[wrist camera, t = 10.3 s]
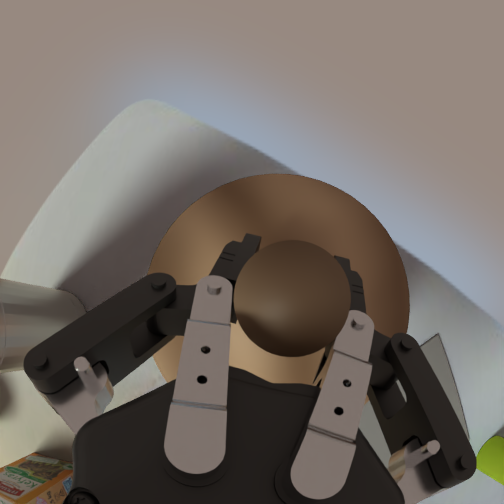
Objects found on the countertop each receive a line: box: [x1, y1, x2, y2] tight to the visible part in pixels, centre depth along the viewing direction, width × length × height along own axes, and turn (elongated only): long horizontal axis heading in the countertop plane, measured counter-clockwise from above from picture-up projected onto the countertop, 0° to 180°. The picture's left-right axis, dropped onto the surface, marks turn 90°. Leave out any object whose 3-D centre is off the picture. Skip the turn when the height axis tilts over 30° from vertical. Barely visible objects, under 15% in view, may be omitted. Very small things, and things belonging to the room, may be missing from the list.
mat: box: [359, 335, 469, 468], centre depth 27 cm, size 18×18×1 cm
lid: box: [147, 174, 410, 405], centre depth 13 cm, size 16×16×9 cm
